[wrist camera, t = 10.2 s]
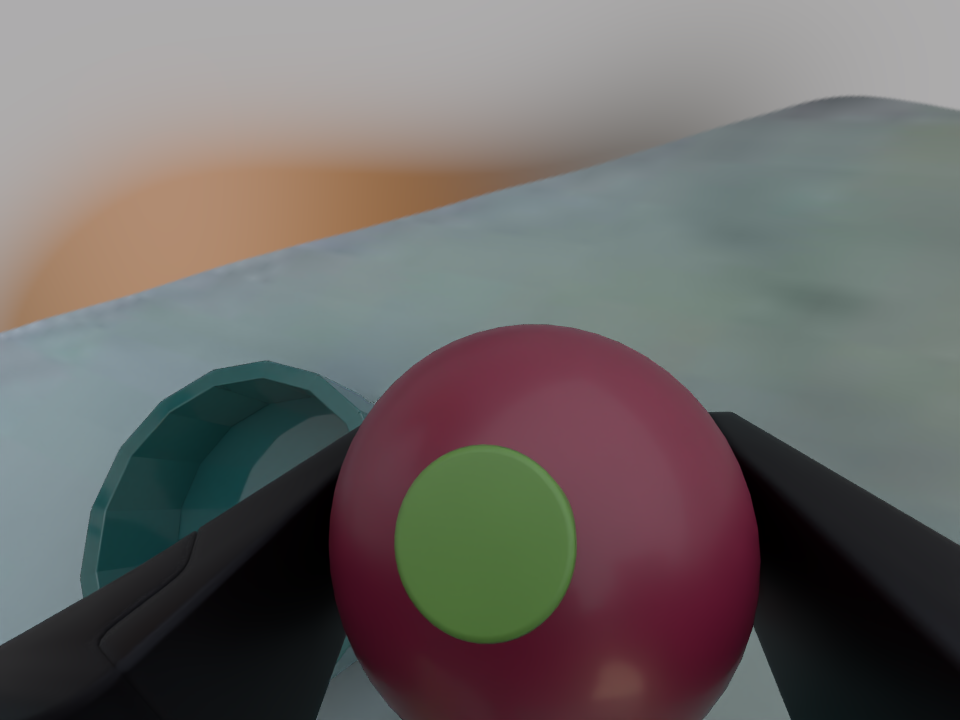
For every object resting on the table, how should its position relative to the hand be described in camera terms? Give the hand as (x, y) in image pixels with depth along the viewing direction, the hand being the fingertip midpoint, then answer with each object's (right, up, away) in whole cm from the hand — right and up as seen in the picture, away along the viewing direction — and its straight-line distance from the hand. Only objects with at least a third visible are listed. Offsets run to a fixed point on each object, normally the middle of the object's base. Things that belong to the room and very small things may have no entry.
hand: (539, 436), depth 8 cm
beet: (+1, -3, +5) cm, 6 cm away
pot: (-10, -7, +14) cm, 19 cm away
